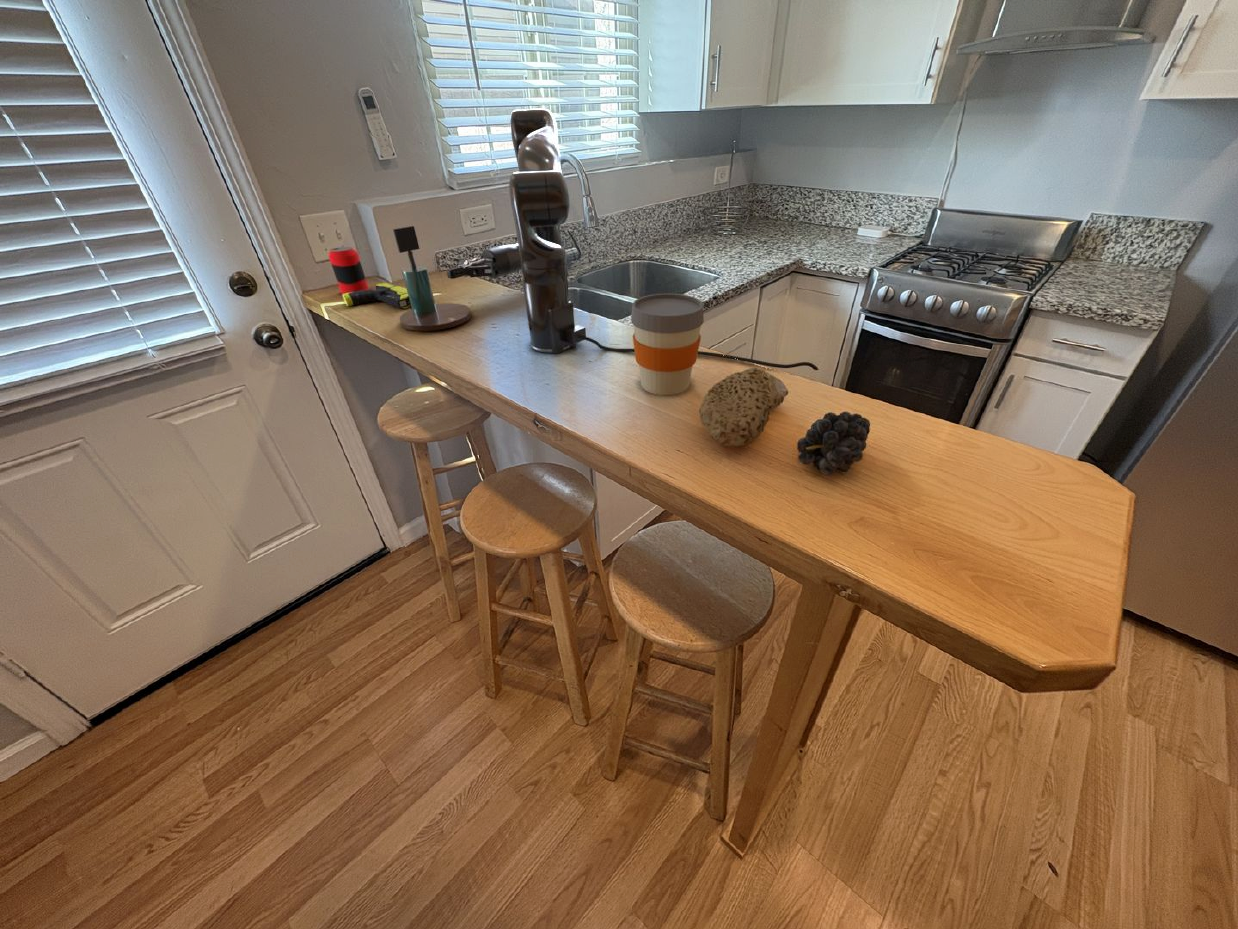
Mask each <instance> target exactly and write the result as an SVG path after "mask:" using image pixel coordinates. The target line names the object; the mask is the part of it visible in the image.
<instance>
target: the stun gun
mask: <svg viewBox="0 0 1238 929" xmlns="http://www.w3.org/2000/svg"><path fill="white" fill-rule="evenodd" d="M341 296H342V299H343V301H344V303H345V305H346V306H347V307H351V306H357V305H360V304H364V303H365V304H366V303H370V302H375V301H381V302H384V303H386V304H388V305H390V306H393V307H397V308H399V309H404V310H405V309H407V308H410V307H411V303H410V299H409V296H408V292H407V288H406V287H403V286H400V285H399V286H397V285H393V284H391V283H388V282H380V283H376V284H375V289H369V290H359V291H355V292H350V293H345V294H342V293H341Z"/></svg>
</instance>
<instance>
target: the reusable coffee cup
mask: <svg viewBox="0 0 1238 929" xmlns="http://www.w3.org/2000/svg"><path fill="white" fill-rule="evenodd" d="M630 322H631V324H632V326H633V334H632V342H633V349H634V350H635V352H634V357H635V363H637V365H638V369H639V370H638V372H639V377H640V385H641V387H642V389H644V391H646V392H648V393H650V394H653V395H657V396H671V395H673V396H674V395H677V394H681V393H683V392H685V391H687V389H688V388H689V386H690V381H691V380H690V379H691V377H692V371H693V367H694V365H695V364H696V362H697V359H698V351H699V348H700V345H701V339H702V336H701V334H700V333H701V328H702V326H703V324H704V302H703V301H702V300H700V299H699V298H697V297H695V296H691V295H687V294H682V293H653V294H648V295H644V296H641V297H639V298H637V299H635V300H634V301H633V302H632V306H631V317H630Z"/></svg>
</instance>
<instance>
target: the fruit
mask: <svg viewBox="0 0 1238 929" xmlns="http://www.w3.org/2000/svg"><path fill="white" fill-rule="evenodd" d="M870 427H871V422H870V420H869V419H868V418H866V417H863V416H862V414H860V413H850V412H849V411H843V412H840V413H839V414H836V413H835V412H831V411H830V412H827V413H825V414H824V415H823V416H822V418H819V419H818V418H817V419H816V420H815V421H814V422H812V424H811V425H810V428H809V429H807V431H806V433H805V436H804V437H800V438H799V439H798V441H797V443H796V447H797V448H796V449H797V451H798V453H799V454H798V458H797V459H798V462H799V463H800V464H802V465H810V464H812V465H813V467H814V468H815V469H816V470H817V471H821V473H822V474H823V475H826V476H831V475H833V474H834V473H835V472H836V471H837V472H839V473H841V474H845V473H848V472H849V470H850V469H851V466H853V465H854V464H855V463H859V462H860V461H862V460H863V458H864V454H863V451H865V450H866V448H867V440H868V438H869V437H868V436H869V433H870V432H871V428H870Z"/></svg>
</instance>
